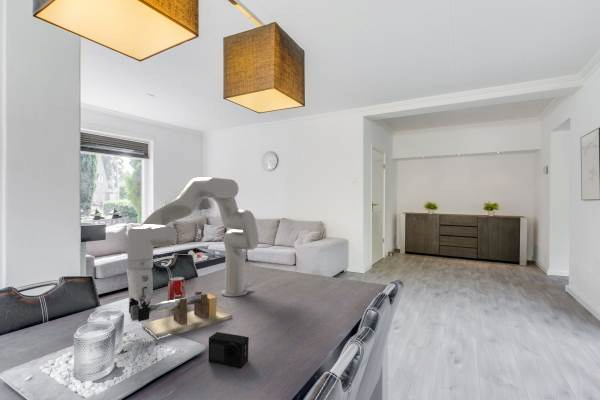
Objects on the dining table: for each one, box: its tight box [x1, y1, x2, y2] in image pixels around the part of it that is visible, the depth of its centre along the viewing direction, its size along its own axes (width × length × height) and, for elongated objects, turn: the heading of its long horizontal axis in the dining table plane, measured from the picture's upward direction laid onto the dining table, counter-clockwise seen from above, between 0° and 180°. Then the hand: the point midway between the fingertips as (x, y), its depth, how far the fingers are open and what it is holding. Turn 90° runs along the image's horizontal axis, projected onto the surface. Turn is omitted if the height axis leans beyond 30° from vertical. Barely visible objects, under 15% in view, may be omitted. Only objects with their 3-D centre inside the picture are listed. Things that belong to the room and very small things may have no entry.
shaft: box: [129, 294, 201, 322], centre depth 106 cm, size 24×5×5 cm, turn 135°
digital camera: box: [208, 331, 249, 369], centre depth 84 cm, size 10×5×7 cm, turn 73°
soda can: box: [167, 276, 186, 301], centre depth 128 cm, size 7×7×12 cm
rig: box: [142, 290, 233, 338], centre depth 112 cm, size 28×14×10 cm, turn 135°
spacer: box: [206, 292, 218, 317], centre depth 117 cm, size 3×7×7 cm, turn 45°
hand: (138, 316), depth 99 cm, fingers open, 8 cm apart
